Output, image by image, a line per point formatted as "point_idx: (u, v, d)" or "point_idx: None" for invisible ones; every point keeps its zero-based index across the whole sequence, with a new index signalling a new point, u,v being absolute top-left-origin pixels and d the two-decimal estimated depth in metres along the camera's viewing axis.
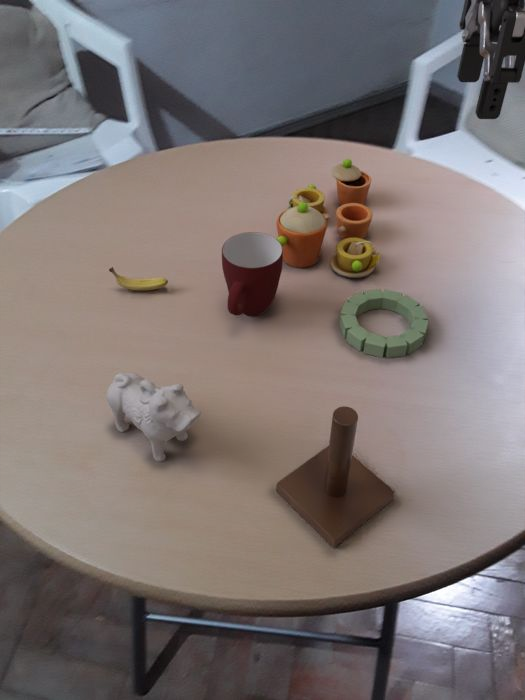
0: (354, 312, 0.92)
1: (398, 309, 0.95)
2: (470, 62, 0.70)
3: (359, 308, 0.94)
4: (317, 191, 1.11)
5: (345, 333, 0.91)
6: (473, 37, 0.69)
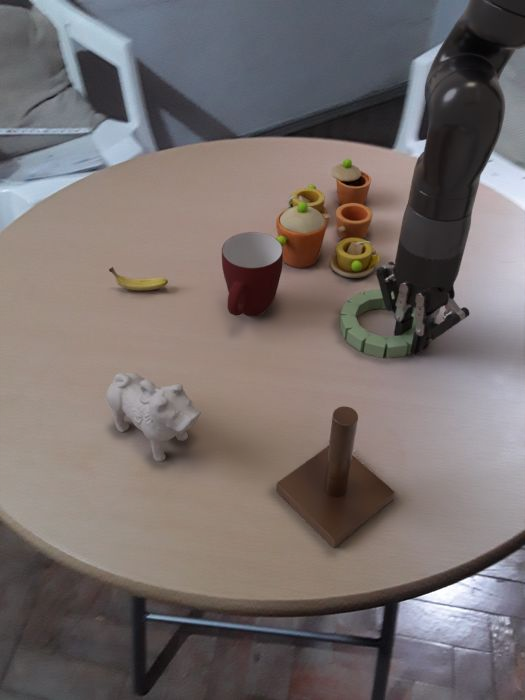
0: (354, 312, 0.92)
1: None
2: (405, 330, 0.89)
3: (359, 309, 0.94)
4: (317, 191, 1.11)
5: (345, 333, 0.91)
6: (405, 314, 0.88)
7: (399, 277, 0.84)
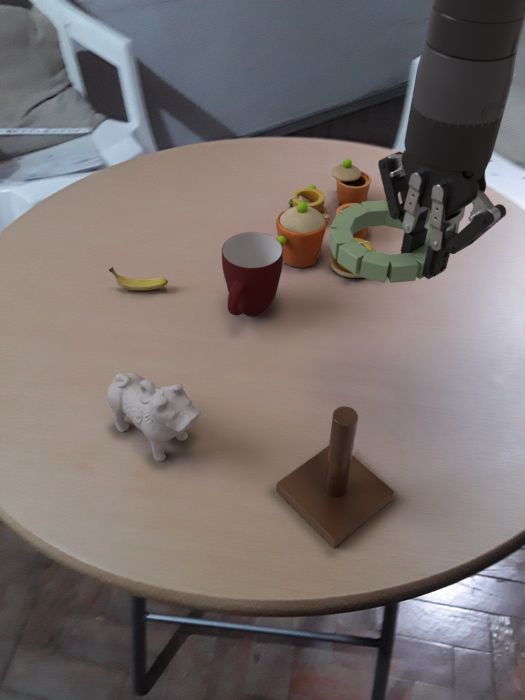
0: (349, 225, 0.70)
1: None
2: (416, 247, 0.67)
3: (355, 223, 0.71)
4: (317, 191, 1.11)
5: (336, 251, 0.68)
6: (417, 223, 0.65)
7: (409, 167, 0.62)
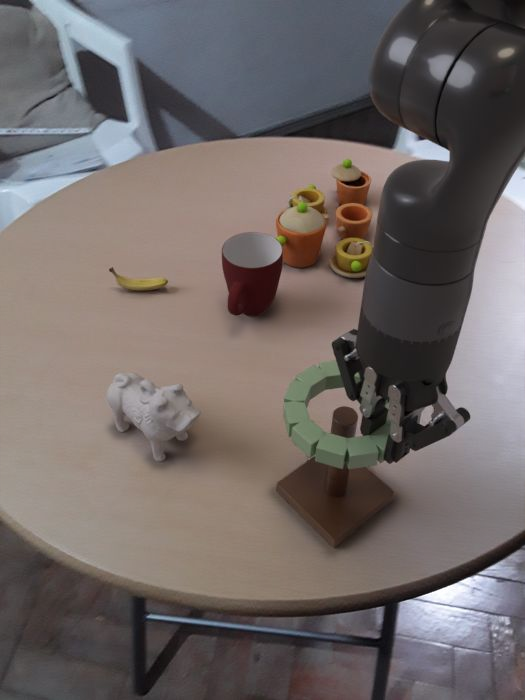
0: (304, 397, 0.64)
1: None
2: (376, 428, 0.61)
3: (312, 390, 0.65)
4: (317, 191, 1.11)
5: (290, 430, 0.62)
6: (375, 407, 0.59)
7: None
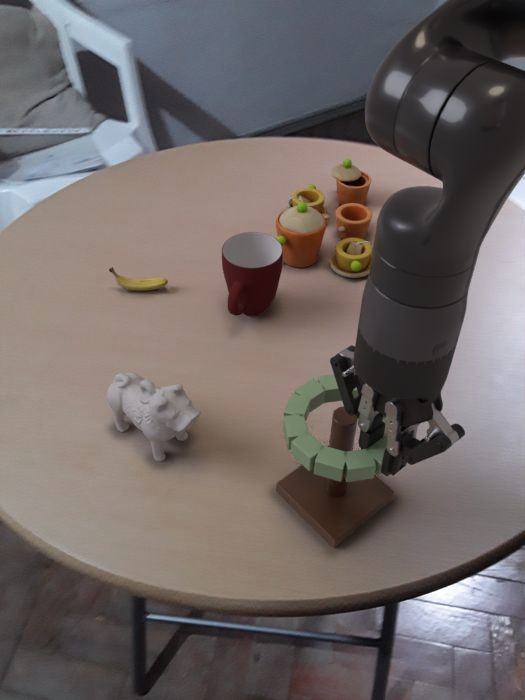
0: (303, 411, 0.65)
1: None
2: (373, 442, 0.62)
3: (311, 404, 0.67)
4: (317, 191, 1.11)
5: (289, 443, 0.64)
6: (373, 422, 0.60)
7: None
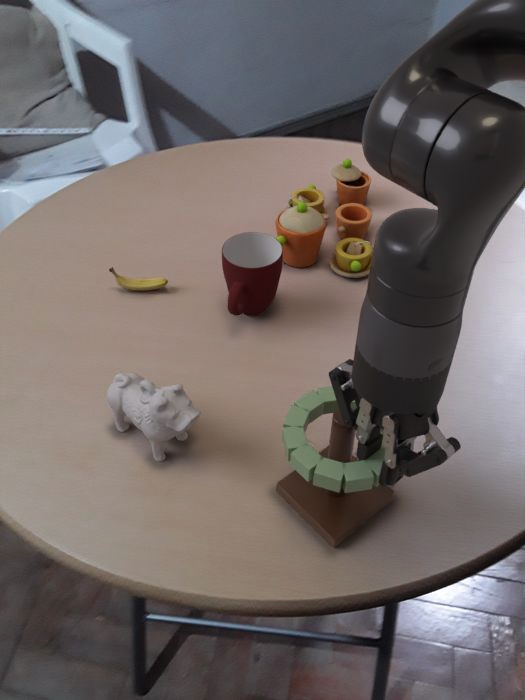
0: (302, 423, 0.66)
1: None
2: (371, 453, 0.64)
3: (310, 415, 0.68)
4: (317, 191, 1.11)
5: (289, 454, 0.65)
6: (371, 434, 0.62)
7: None
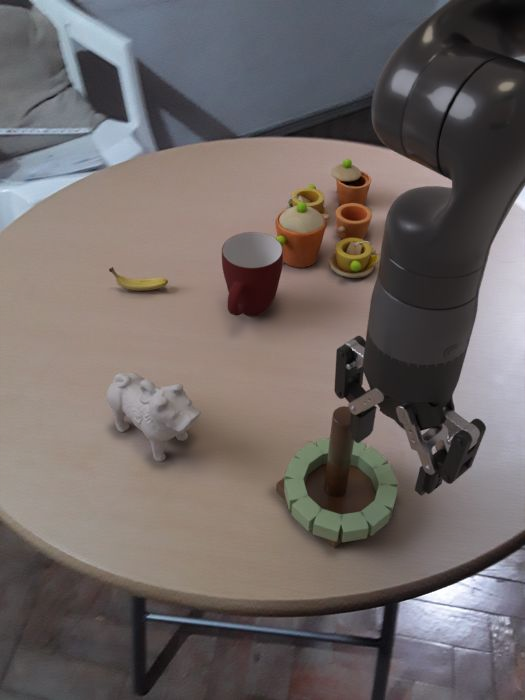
0: (303, 475, 0.72)
1: (360, 465, 0.74)
2: (364, 425, 0.62)
3: (310, 466, 0.73)
4: (317, 191, 1.11)
5: (290, 505, 0.70)
6: None
7: None
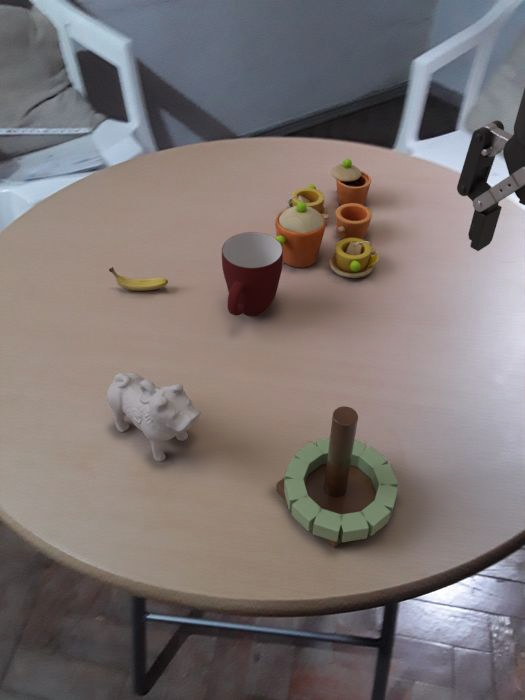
0: (303, 475, 0.72)
1: (360, 465, 0.74)
2: (487, 228, 0.57)
3: (310, 466, 0.73)
4: (317, 191, 1.11)
5: (290, 505, 0.70)
6: None
7: (515, 160, 0.51)
